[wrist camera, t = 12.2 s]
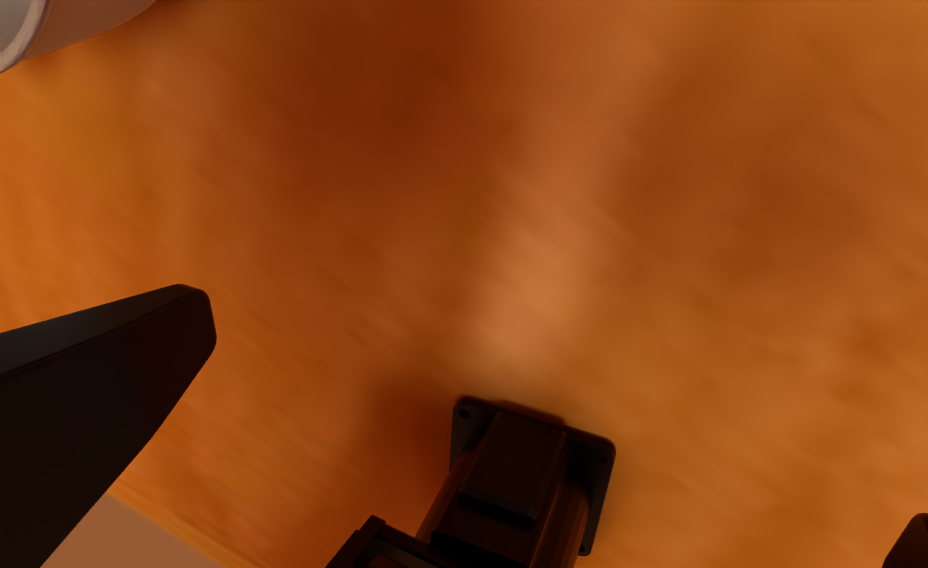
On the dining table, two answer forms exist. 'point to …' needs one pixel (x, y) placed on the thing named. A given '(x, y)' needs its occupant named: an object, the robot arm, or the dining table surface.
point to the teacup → (57, 24)
